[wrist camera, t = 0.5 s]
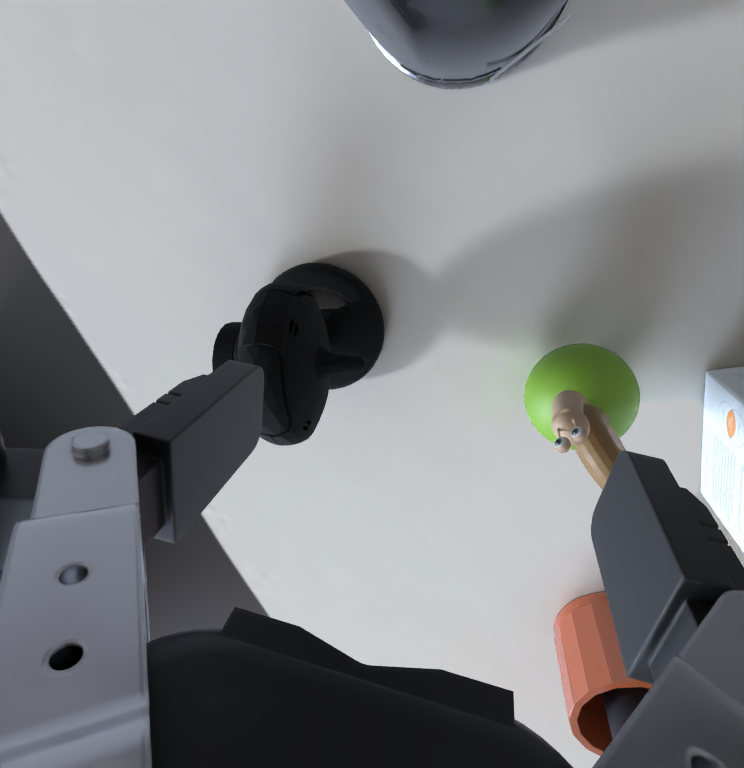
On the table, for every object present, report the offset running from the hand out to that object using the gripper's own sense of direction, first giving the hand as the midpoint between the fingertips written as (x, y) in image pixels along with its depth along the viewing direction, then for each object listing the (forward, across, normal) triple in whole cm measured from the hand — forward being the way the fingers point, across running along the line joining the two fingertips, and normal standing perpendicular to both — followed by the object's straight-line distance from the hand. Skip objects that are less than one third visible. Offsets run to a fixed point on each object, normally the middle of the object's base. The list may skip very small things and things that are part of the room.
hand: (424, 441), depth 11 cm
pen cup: (+18, -15, +22) cm, 32 cm away
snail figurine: (+18, -6, +4) cm, 20 cm away
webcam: (+17, +8, +4) cm, 19 cm away
